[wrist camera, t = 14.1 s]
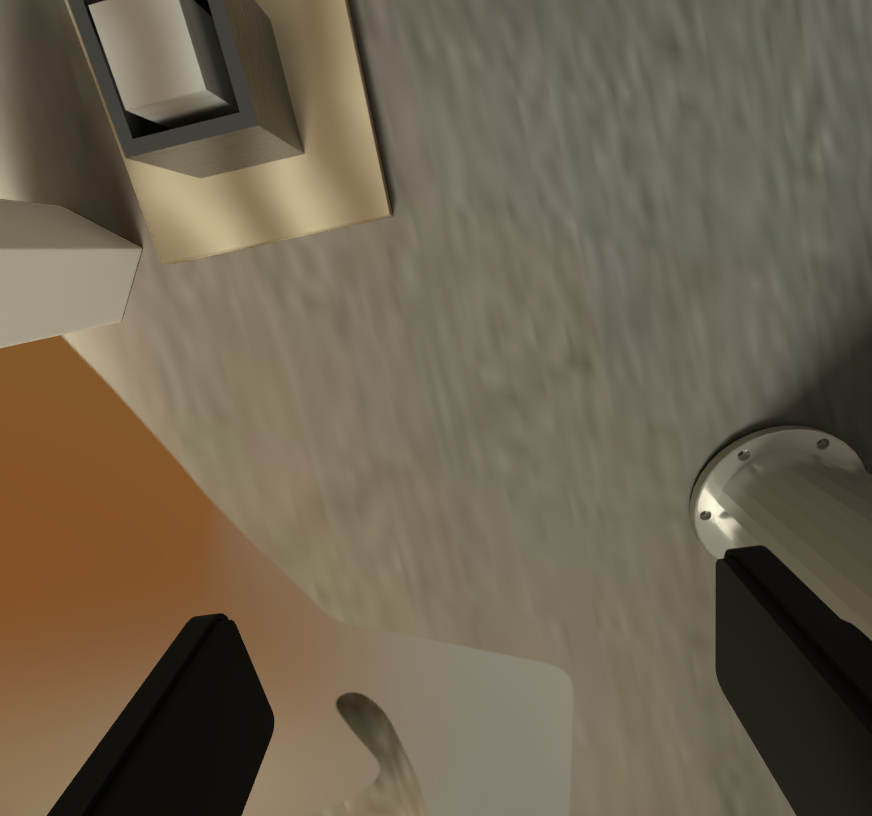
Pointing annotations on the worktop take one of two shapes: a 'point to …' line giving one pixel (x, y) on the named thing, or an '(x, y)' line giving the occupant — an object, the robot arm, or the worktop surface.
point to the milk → (59, 272)
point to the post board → (285, 181)
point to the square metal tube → (221, 137)
